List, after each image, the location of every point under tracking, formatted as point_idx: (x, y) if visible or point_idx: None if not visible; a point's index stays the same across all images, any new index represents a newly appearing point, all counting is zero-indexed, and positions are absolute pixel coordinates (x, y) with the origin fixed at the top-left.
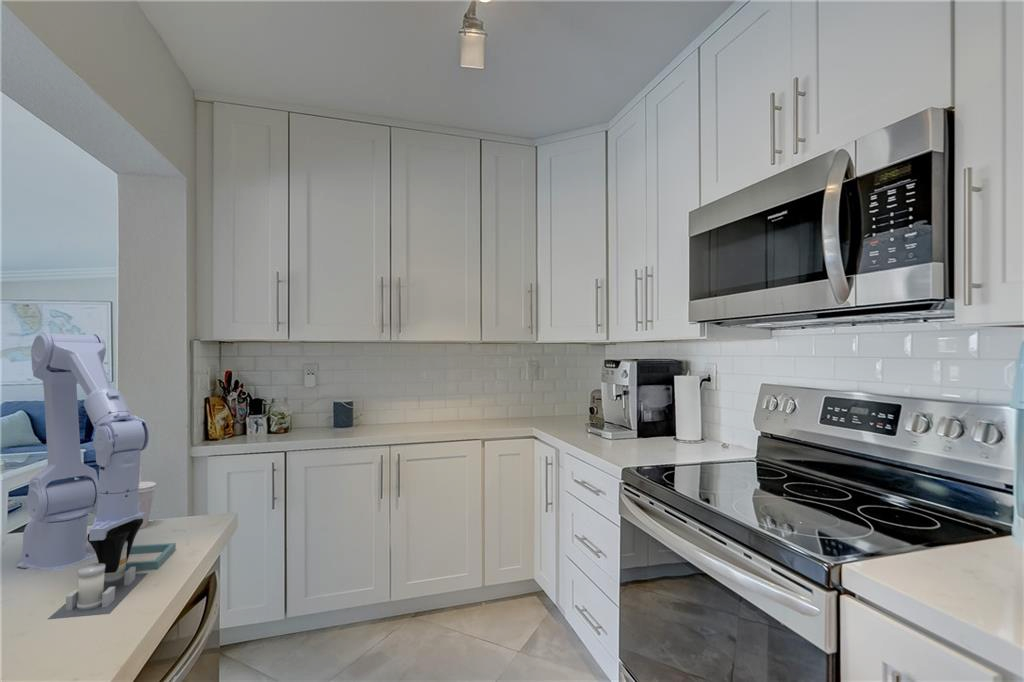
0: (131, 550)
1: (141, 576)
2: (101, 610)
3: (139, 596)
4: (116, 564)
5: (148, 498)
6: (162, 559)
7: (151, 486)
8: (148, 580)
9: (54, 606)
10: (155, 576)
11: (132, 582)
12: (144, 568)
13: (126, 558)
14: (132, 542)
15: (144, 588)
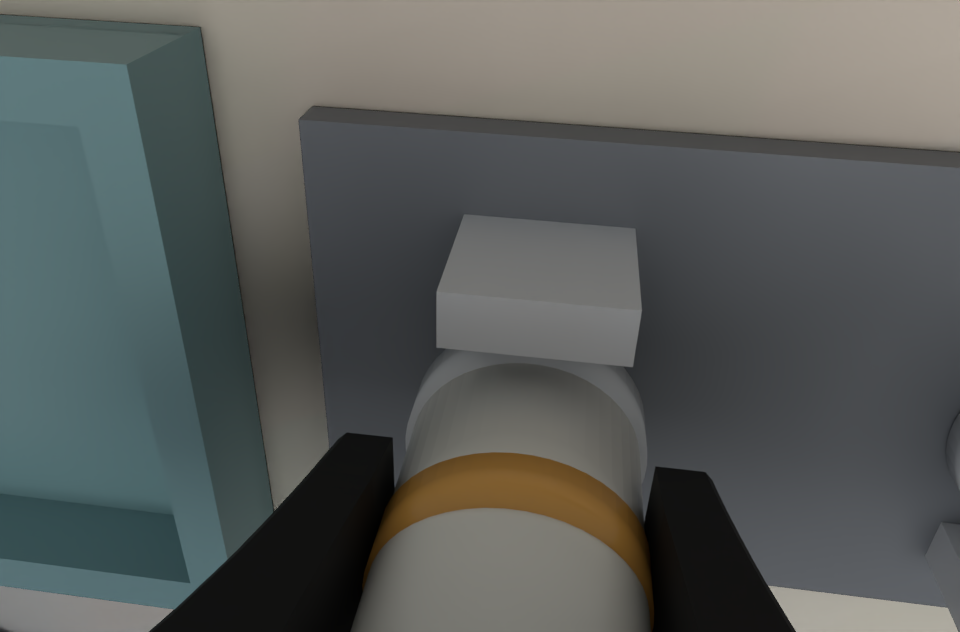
0: None
1: (399, 166)
2: None
3: (953, 21)
4: (747, 552)
5: None
6: None
7: None
8: (437, 62)
9: (813, 628)
10: (321, 12)
11: (566, 215)
12: (198, 195)
13: (483, 485)
14: (198, 617)
15: (692, 36)
